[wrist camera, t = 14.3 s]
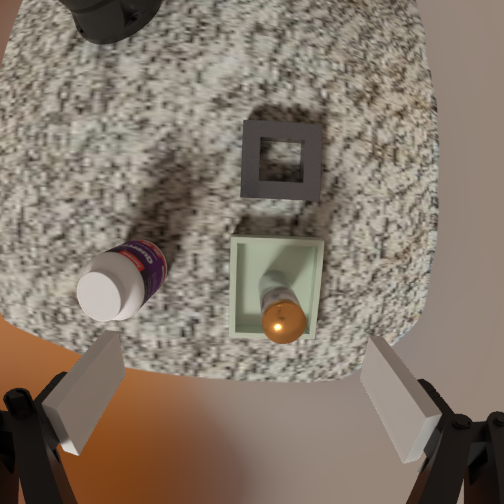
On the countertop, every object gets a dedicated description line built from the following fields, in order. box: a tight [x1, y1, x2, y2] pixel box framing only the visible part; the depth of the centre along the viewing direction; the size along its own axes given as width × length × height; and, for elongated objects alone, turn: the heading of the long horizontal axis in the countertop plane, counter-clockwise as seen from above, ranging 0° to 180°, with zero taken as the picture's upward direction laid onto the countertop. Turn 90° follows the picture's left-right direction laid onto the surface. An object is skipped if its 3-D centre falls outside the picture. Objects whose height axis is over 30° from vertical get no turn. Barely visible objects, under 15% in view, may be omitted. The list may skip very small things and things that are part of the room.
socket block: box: [240, 120, 322, 201], centre depth 38 cm, size 10×10×3 cm
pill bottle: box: [77, 239, 167, 322], centre depth 35 cm, size 8×8×14 cm
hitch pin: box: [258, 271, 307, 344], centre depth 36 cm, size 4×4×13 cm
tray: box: [229, 234, 325, 339], centre depth 41 cm, size 14×12×3 cm
